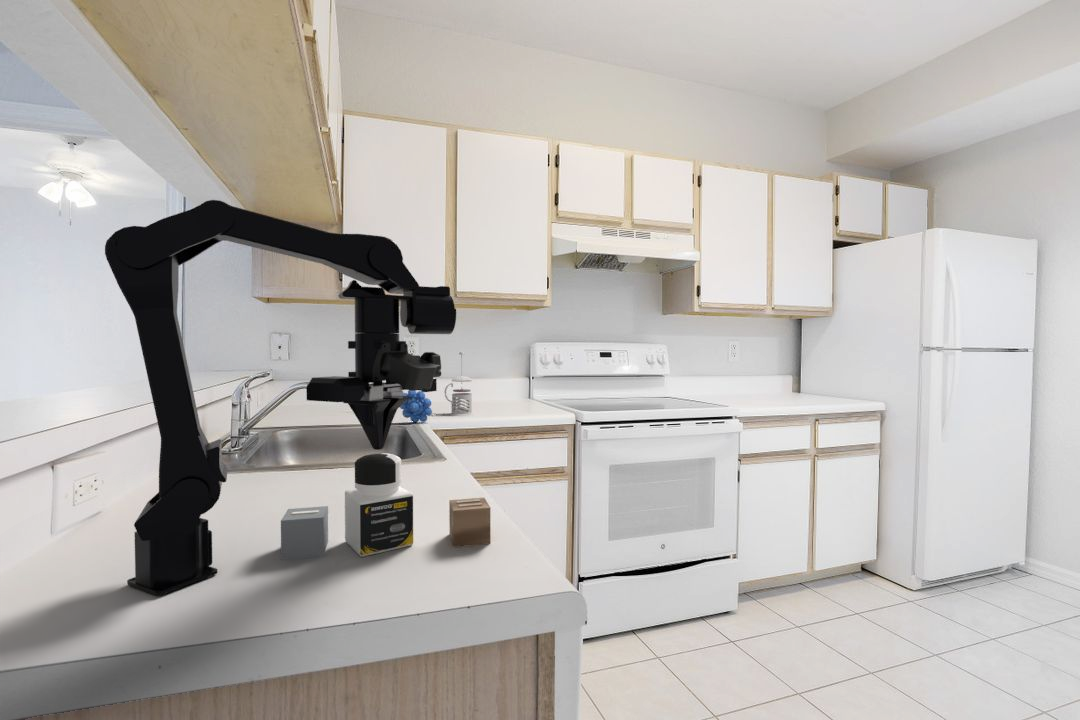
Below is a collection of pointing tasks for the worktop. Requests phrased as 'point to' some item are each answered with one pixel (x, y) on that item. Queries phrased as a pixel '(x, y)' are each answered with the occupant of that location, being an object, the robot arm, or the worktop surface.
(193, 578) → the robot arm
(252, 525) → the worktop surface
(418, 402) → the blue knobby cluster
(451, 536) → the walnut block two
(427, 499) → the worktop surface
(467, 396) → the french press
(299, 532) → the slate block one
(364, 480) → the medicine bottle
